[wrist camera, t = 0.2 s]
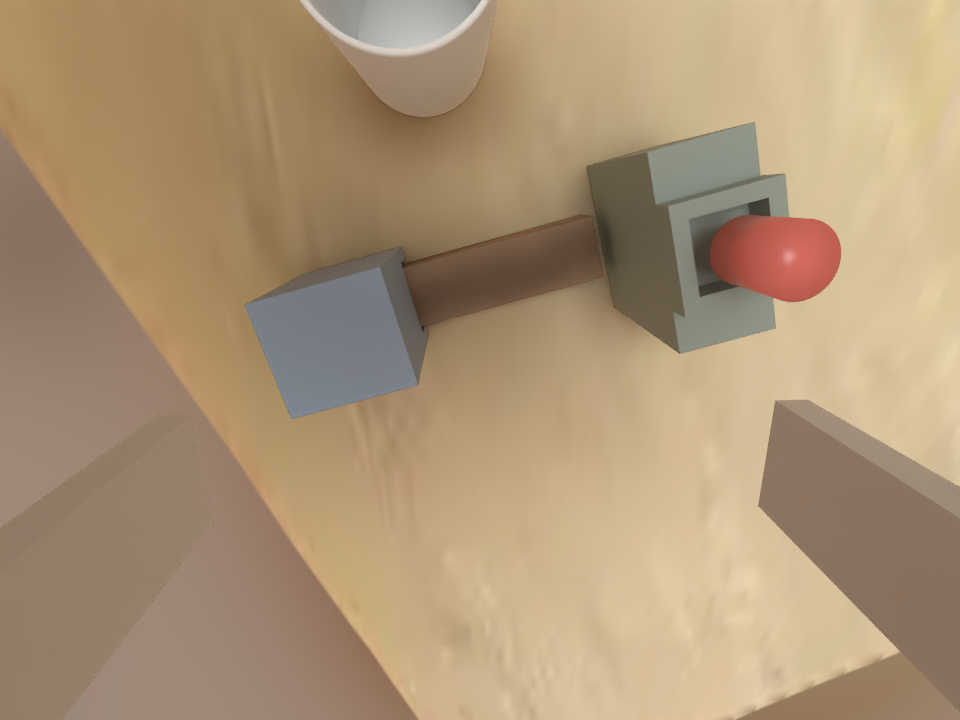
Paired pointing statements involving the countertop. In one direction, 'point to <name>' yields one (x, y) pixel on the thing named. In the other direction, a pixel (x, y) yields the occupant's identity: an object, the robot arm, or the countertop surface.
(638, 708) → the countertop surface
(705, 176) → the grey upright block
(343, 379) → the block
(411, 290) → the rail
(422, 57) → the cup
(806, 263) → the plunger
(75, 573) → the robot arm
